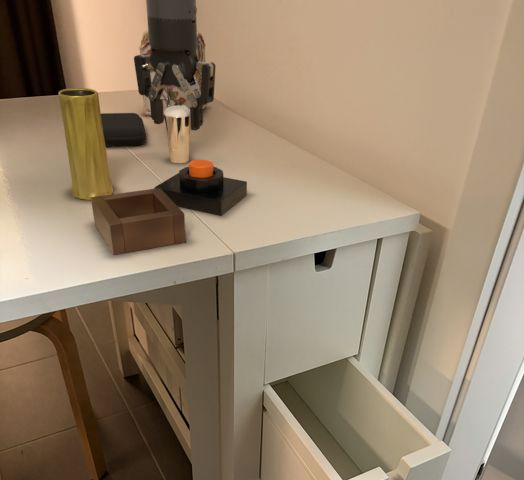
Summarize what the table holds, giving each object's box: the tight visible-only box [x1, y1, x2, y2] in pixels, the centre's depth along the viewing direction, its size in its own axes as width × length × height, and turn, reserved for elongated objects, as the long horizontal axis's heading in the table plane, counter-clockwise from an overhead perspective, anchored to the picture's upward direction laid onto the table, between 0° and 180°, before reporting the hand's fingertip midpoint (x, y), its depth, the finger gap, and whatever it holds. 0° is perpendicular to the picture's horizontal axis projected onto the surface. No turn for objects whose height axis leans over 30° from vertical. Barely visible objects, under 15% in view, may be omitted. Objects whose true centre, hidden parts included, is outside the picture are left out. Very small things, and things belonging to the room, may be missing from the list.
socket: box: [90, 188, 186, 256], centre depth 72 cm, size 10×10×4 cm
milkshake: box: [164, 96, 191, 164], centre depth 95 cm, size 4×5×10 cm
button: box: [188, 159, 214, 178], centre depth 82 cm, size 4×4×2 cm
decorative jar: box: [138, 29, 207, 117], centre depth 120 cm, size 12×12×18 cm
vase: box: [58, 87, 114, 201], centre depth 80 cm, size 6×6×14 cm
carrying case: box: [101, 112, 148, 147], centre depth 107 cm, size 11×3×15 cm
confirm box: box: [153, 166, 248, 216], centre depth 83 cm, size 11×9×4 cm
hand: (177, 126), depth 95 cm, fingers open, 6 cm apart
